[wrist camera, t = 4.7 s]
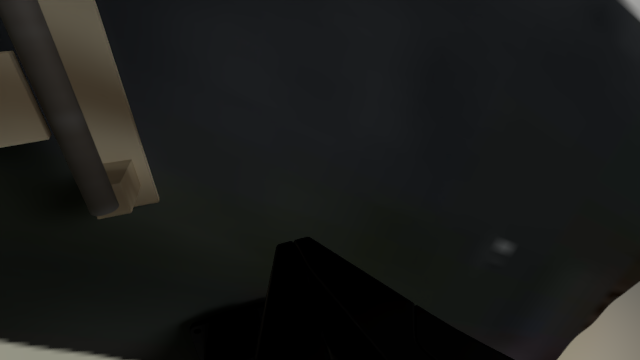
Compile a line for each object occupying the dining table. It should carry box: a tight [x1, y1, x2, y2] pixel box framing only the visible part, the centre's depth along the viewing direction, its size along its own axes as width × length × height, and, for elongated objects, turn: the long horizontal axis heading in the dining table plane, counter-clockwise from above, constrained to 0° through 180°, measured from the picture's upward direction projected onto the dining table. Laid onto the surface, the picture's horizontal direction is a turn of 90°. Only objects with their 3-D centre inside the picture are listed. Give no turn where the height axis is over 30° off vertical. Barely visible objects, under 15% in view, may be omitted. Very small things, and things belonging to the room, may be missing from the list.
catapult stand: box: [38, 0, 159, 219], centre depth 14 cm, size 20×13×3 cm
